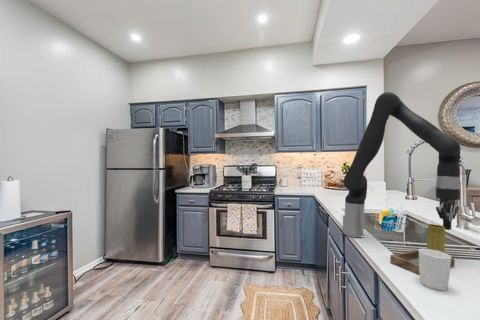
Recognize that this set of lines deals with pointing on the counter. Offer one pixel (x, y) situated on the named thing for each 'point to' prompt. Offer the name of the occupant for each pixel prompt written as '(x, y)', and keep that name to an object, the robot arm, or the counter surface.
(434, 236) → the vase
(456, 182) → the robot arm
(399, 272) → the counter surface
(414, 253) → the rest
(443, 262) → the white cup
